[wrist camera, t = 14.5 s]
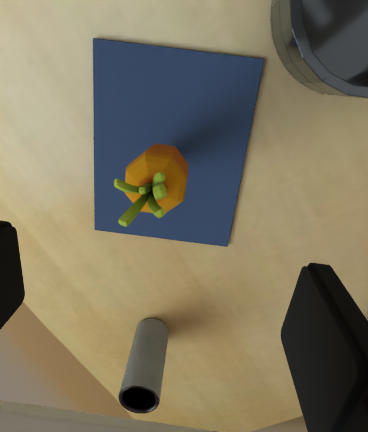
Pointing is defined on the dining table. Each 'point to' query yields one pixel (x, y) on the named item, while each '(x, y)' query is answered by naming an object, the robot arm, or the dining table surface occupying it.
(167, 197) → the carrot
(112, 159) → the towel
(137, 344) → the grey cylindrical tube
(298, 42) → the pot
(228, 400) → the dining table surface
